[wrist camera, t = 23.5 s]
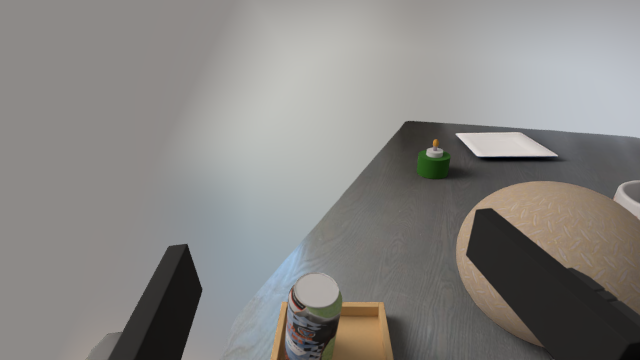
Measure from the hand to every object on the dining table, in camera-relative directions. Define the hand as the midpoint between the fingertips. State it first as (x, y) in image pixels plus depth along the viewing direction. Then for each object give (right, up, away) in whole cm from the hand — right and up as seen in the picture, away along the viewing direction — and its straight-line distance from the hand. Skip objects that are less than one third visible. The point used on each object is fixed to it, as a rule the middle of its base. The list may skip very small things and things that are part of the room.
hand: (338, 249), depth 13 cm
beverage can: (-1, -19, +23) cm, 30 cm away
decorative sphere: (+28, -16, +28) cm, 42 cm away
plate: (+59, +13, +83) cm, 103 cm away
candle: (+31, +5, +69) cm, 76 cm away
